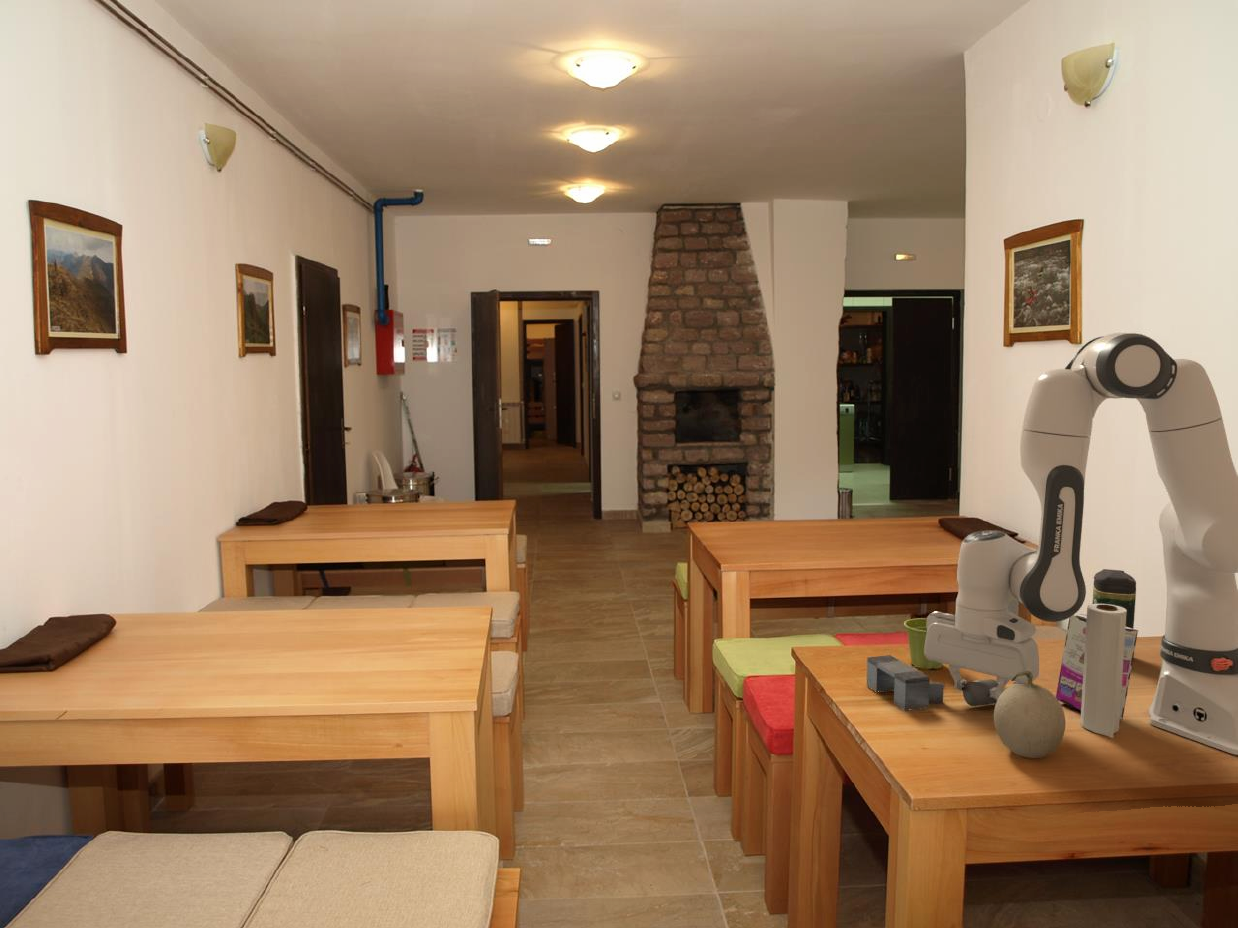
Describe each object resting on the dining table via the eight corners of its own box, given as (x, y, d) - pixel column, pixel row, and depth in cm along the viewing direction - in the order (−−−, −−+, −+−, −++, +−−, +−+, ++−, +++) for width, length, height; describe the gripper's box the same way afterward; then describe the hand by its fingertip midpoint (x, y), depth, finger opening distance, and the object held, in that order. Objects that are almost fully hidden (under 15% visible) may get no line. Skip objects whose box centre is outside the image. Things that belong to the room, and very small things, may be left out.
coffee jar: (1134, 666, 197) (1140, 578, 194) (1091, 662, 199) (1096, 575, 197) (1127, 652, 206) (1133, 568, 203) (1087, 648, 208) (1092, 565, 206)
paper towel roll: (1085, 717, 170) (1092, 600, 167) (1122, 726, 166) (1130, 606, 163) (1074, 730, 164) (1081, 608, 161) (1113, 739, 160) (1120, 615, 158)
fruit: (1040, 738, 161) (1045, 651, 159) (1075, 767, 150) (1081, 675, 148) (979, 739, 161) (983, 652, 159) (1009, 768, 149) (1014, 676, 147)
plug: (1015, 692, 181) (1018, 671, 180) (1031, 703, 176) (1035, 681, 176) (961, 699, 176) (964, 677, 175) (977, 710, 172) (980, 688, 171)
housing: (948, 705, 176) (949, 674, 175) (904, 710, 173) (905, 679, 172) (907, 681, 188) (908, 653, 187) (866, 686, 185) (867, 657, 185)
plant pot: (941, 676, 191) (943, 633, 190) (895, 666, 197) (897, 625, 196) (956, 663, 199) (958, 623, 198) (912, 655, 204) (913, 615, 203)
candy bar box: (1124, 721, 168) (1140, 629, 167) (1103, 720, 166) (1119, 628, 165) (1074, 699, 179) (1089, 613, 177) (1053, 699, 177) (1068, 612, 176)
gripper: (919, 612, 178) (916, 684, 179) (1030, 635, 163) (1026, 713, 165) (935, 605, 182) (932, 676, 184) (1044, 627, 168) (1040, 703, 169)
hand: (977, 694), depth 174 cm, fingers closed on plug, 5 cm apart
